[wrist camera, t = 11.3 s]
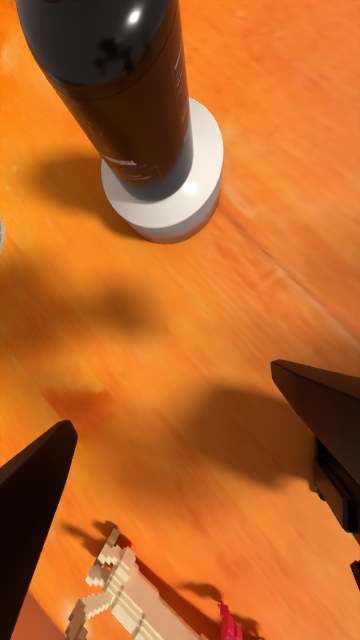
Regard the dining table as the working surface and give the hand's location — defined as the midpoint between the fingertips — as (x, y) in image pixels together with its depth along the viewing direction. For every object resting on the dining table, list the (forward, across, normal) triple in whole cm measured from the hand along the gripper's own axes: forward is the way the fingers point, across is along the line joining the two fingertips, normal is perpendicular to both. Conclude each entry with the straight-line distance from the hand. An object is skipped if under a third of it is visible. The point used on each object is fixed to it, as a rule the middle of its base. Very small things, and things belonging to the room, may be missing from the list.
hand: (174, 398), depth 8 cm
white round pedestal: (+16, -4, -13) cm, 21 cm away
